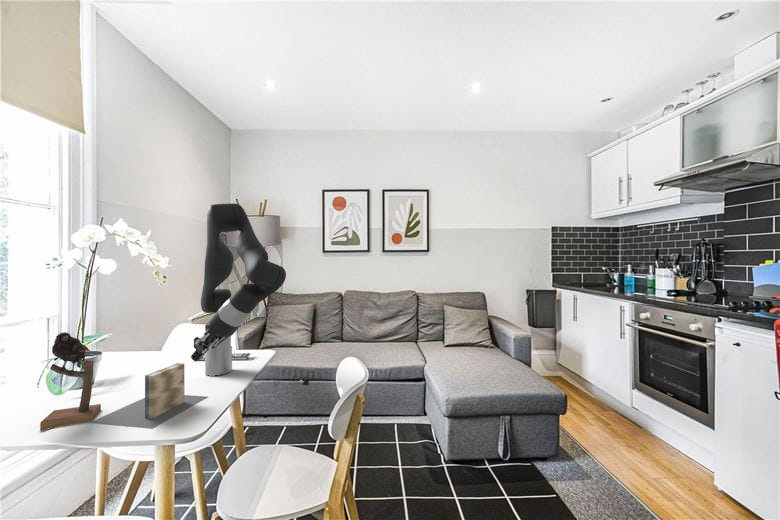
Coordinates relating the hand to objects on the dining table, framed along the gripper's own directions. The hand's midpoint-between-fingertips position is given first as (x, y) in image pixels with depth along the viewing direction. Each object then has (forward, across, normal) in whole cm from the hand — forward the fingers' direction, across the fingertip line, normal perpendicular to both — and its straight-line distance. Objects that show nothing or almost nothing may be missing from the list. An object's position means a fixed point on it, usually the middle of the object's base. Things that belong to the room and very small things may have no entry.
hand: (194, 358), depth 102 cm
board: (+18, -1, +3) cm, 19 cm away
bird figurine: (+34, +7, -13) cm, 38 cm away
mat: (+22, 0, +1) cm, 22 cm away
